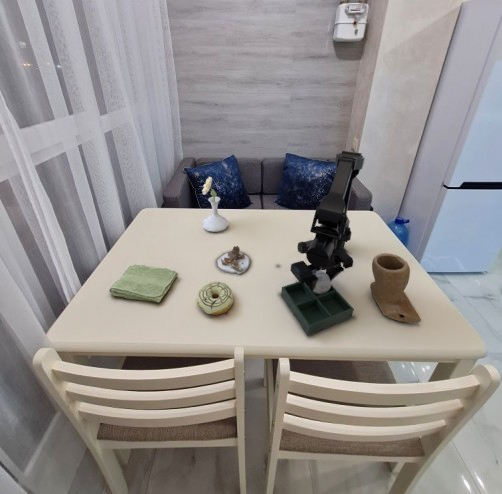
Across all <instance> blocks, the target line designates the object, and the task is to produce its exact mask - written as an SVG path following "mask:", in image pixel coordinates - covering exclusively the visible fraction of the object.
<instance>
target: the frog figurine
mask: <svg viewBox="0 0 502 494" xmlns="http://www.w3.org/2000/svg"><path fill="white" fill-rule="evenodd" d="M240 249H241V247H239V246H238V245H236V246H233V247H232V249H231V250H230V251H228V252H227V253H224V254H223V255H222V256H220V257H219V258H218V259H217V262H216V264H217V267H218V268H219V269H220V270H221V271H223V272H224V273H225V272H226V273H230V274H233V273H235V274H237V275H241V274H243V273H245V272H246V271H247V270H248V268H249V267H250V258H249V256H247V255H246V254H244V253H242V252H240Z"/></svg>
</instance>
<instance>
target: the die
mask: <svg viewBox="0 0 502 494" xmlns="http://www.w3.org/2000/svg"><path fill="white" fill-rule="evenodd" d="M316 277H317V278H318V281H317V283H316V285H315V287H314V289H313V290H312V291H313V292H314V293H316V294H324V293H326V292H327V291H329V289H330V287H331V285H332V281H330V278H329V276H328V275H327V274H326V271H324V270H320V271H317V272H316Z"/></svg>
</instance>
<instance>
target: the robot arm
mask: <svg viewBox="0 0 502 494" xmlns="http://www.w3.org/2000/svg"><path fill="white" fill-rule="evenodd" d="M365 160H366V156H364V155H363V153H362V152H356V151H351V150H350V151H348V150H342V151H341V152H340V153H336V156H335V161H334V166H336V171H335V172H334V177H333V179H332V183H331V186H330V188H329V191H328V194H327V195H326V196H323V198H322V199H321V201H320V204H319V205H318V206H316V209H315V211H314V216H313V219H312V223H311V226H310V230H309V231H310V233H311V234H312V233H313V234H315V236H314V238H313V239H310V240H307V241H299V242H298V243H297V252H298V253H300V254H302V255H304V254H305V255H306V256H305V258H306V260H307V261H308V263H309V264H307V263H306V262H305V261H304V260H300V261H296V262H293V263H291V264H290V268H289V271H290V272H291V273H292V274H293V275H294V277H295V278H296V280H297V282H300V283H305V282H308V283H309V287H310V289H311V290H313V289H314V287H315V285H316V283H317V281H318V278H317V277H316V272H317V271H325V273H326V274H327V275H328V276H329V278H330V281H331V282H333V280H334V279H335V278H336V277H338V275H340V274H341V273H342V272H345V270H346V269H347V270H348V269H350V268H353V265H354V259H353V257H352V256H351V255H349V253H347V250H346V249H345V244H346V243H348V242H349V241H351V238H352V231H351V227H350V224H351V223H350V222H351V221H350V219H349V217H348V208H349V205H350V200H351V195H352V190H353V184H354V180H355V178H356V177H357V176H358V175H359V173H360V172H361V170H362V169H363V168H364V164H365ZM317 224H319V225H317Z"/></svg>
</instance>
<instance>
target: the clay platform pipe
mask: <svg viewBox="0 0 502 494" xmlns="http://www.w3.org/2000/svg"><path fill="white" fill-rule="evenodd" d="M371 271H372V275H373V279H374V280H373V282H371V283H370V291H371V294H372V296H373V297H374V300H375V301H376V304H377V305H378V307H379V309H380V311H381V312H382V314H383V315H384V316H385V317H388V318H390V319H391V320H394V321H398V322H402V323H407V324H408V323H412V324H414V323H415V324H416V323H421V322H422V318H421V316H420V315H419V313H418V311H417V309H416V308H415V307H414V305H413V303H412V302H411V300H410V298H409V297H408V296H407V294H406V292H405V289H406V288H407V287H408V284H409V281H410V276H411V267H410V265H409V263H408V262H407V261H406V260H405V259H404V258H403V257H401V256H399V255H397V254H394V253H387V252H386V253H379V254H377V255H375V256H374V257H373V259H372V262H371Z"/></svg>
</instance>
